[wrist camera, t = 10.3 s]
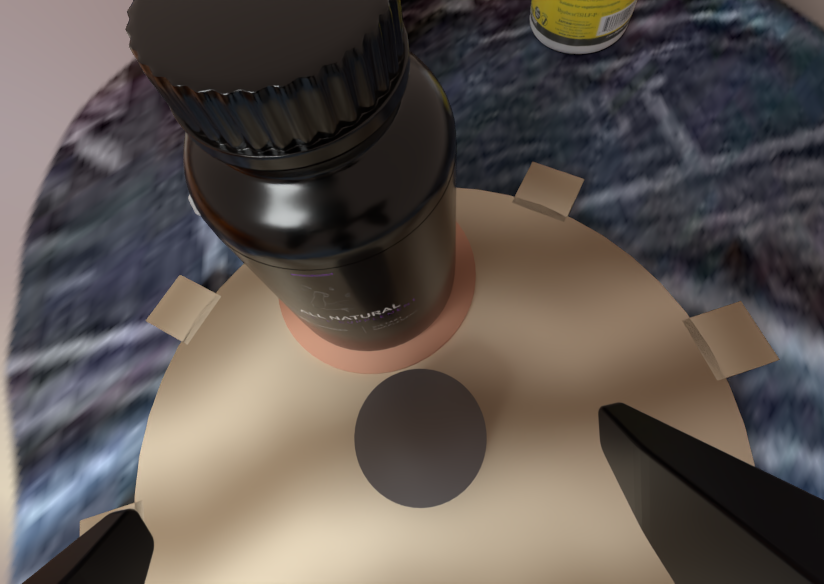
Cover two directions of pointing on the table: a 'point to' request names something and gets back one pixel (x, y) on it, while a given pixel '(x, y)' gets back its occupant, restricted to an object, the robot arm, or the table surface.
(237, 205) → the supplement bottle
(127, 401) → the table surface
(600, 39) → the supplement bottle
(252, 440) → the sprocket wheel
